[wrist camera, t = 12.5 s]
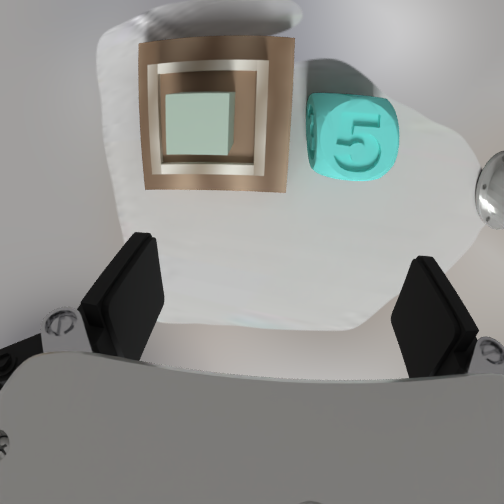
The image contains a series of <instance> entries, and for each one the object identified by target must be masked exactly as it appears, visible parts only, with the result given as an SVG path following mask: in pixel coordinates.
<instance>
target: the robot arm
mask: <svg viewBox="0 0 504 504" xmlns="http://www.w3.org/2000/svg"><path fill="white" fill-rule="evenodd" d="M476 207H477V211H478V214H479V216H480V218H481V220H482V221H483V222H484V223H485V224H486V225H488V226H489V227H491V228H493V229H504V151H501V152H499V153H497V154H495V155H494V156H493V157H492V158H491V159H490V160H489V161H488V163H487V164H486V165H485V167H484V168H483V170H482V172H481V175H480V177H479V180H478V184H477V189H476ZM163 305H164V291H163V285H162V278H161V272H160V264H159V257H158V249H157V242H156V238H154V237H152V236H151V234H150V233H140V232H135V233H134V234H133V235H132V236H131V237H130V238H129V240H128V241H127V242H126V243H125V245H124V246H123V247H122V248H121V250H120V251H119V252H118V253H117V255H116V256H115V257H114V258H113V260H112V261H111V262H110V264H109V265H108V266H107V267H106V269H105V270H104V271H103V272H102V274H101V275H100V276H99V278H98V279H97V280H96V282H95V283H94V285H93V286H92V287H91V288H90V290H89V291H88V293H87V294H86V296H85V297H84V298H83V300H82V301H81V305H80V306H79V307H78V309H77V310H76V309H75V308H72V307H62V308H58V309H55V310H53V311H52V312H50V313H49V314H47V315H46V317H45V318H44V319H43V321H42V323H41V329H40V330H41V333H40V334H37V335H35V336H32V337H30V338H27V339H25V340H22V341H20V342H17V343H15V344H12V345H10V346H7V347H5V348H3V349H0V504H504V347H503V345H502V344H500V342H498V341H497V340H495V339H493V338H491V337H481V338H480V339H478V340H477V338H476V335H477V333H478V332H479V330H478V328H477V326H476V324H475V322H474V321H473V319H472V317H471V316H470V314H469V312H468V310H467V309H466V307H465V306H464V304H463V302H462V301H461V299H460V297H459V296H458V294H457V292H456V291H455V289H454V288H453V286H452V285H451V283H450V282H449V280H448V279H447V277H446V276H445V274H444V273H443V271H442V270H441V268H440V267H439V265H438V264H437V262H436V261H435V259H434V258H433V257H429V256H418V257H417V258H416V259H413V261H412V262H411V265H410V268H409V271H408V274H407V276H406V279H405V282H404V284H403V287H402V290H401V292H400V295H399V297H398V300H397V302H396V305H395V307H394V310H393V312H392V316H391V323H392V326H393V329H394V332H395V335H396V338H397V341H398V344H399V346H400V349H401V353H402V355H403V359H404V362H405V365H406V368H407V372H408V375H409V378H406V379H386V380H306V379H285V378H270V377H257V376H245V375H235V374H225V373H217V372H208V371H201V370H193V369H187V368H180V367H173V366H167V365H160V364H155V363H148V362H143V361H139V360H140V357H141V355H142V353H143V351H144V348H145V346H146V344H147V341H148V339H149V337H150V334H151V332H152V330H153V327H154V325H155V323H156V321H157V318H158V316H159V314H160V312H161V309H162V307H163Z"/></svg>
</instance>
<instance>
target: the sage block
mask: <svg viewBox="0 0 504 504" xmlns="http://www.w3.org/2000/svg"><path fill="white" fill-rule="evenodd" d="M234 115H235V92H180V93H173V94H167V95H166V152H167V155H170V154H191V155H228V153H229V151H230V149H231V147H232V145H233V143H234Z"/></svg>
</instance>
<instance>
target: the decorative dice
mask: <svg viewBox="0 0 504 504" xmlns="http://www.w3.org/2000/svg"><path fill="white" fill-rule="evenodd" d="M306 137H307V150H308V158H309V163H310V166H311V168H312V169H313V170H314V171H315V172H317V173H319V174H321V175H324V176H327V177H331V178H335V179H342V180H351V181H368V180H375V179H378V178H380V177H382V176H383V175H384V174H386V173H387V172H388V171H389V170H390V169H391V167H392V166H393V164H394V162H395V160H396V157H397V153H398V148H399V125H398V119H397V115H396V112H395V110H394V108H393V106H392V105H391V103H390V102H389V101H388V100H387V99H385V98H379V97H372V96H363V95H352V94H337V93H312V94H311V95H310V96H309V98H308V102H307V111H306Z"/></svg>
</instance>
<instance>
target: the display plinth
mask: <svg viewBox="0 0 504 504" xmlns="http://www.w3.org/2000/svg"><path fill="white" fill-rule="evenodd" d="M294 48H295V38H288V37H274V36H204V37H189V38H178V39H168V40H160V41H152V42H145V43H139V57H138V75H139V113H140V133H141V148H142V161H143V172H144V182H145V190H155V189H179V190H232V191H258V192H279V193H286V183H287V170H288V156H289V141H290V126H291V109H292V91H293V71H294ZM180 92H235V115H234V143H233V145H232V147H231V149H230V151H229V153H228V155H191V154H170V155H167V152H166V95H167V94H173V93H180Z"/></svg>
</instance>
